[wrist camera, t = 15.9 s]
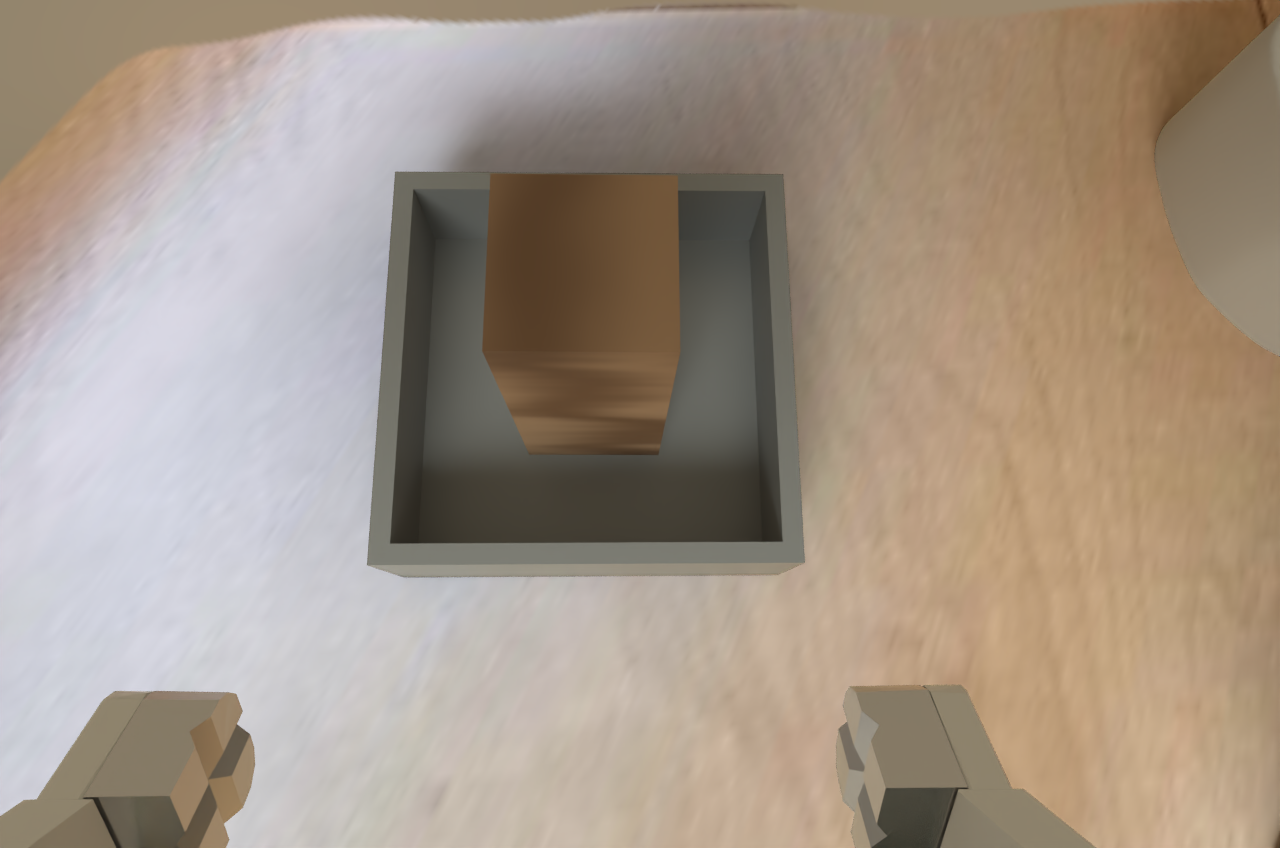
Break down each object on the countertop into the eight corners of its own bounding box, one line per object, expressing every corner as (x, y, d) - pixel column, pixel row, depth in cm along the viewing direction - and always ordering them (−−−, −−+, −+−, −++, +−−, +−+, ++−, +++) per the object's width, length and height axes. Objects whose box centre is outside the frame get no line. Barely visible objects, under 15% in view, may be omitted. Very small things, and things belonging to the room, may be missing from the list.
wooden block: (657, 333, 35) (677, 175, 23) (658, 454, 33) (680, 352, 22) (533, 332, 34) (490, 173, 23) (529, 454, 33) (481, 350, 22)
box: (761, 236, 37) (783, 174, 32) (777, 575, 33) (804, 562, 28) (424, 234, 36) (395, 171, 32) (403, 577, 33) (366, 565, 28)
